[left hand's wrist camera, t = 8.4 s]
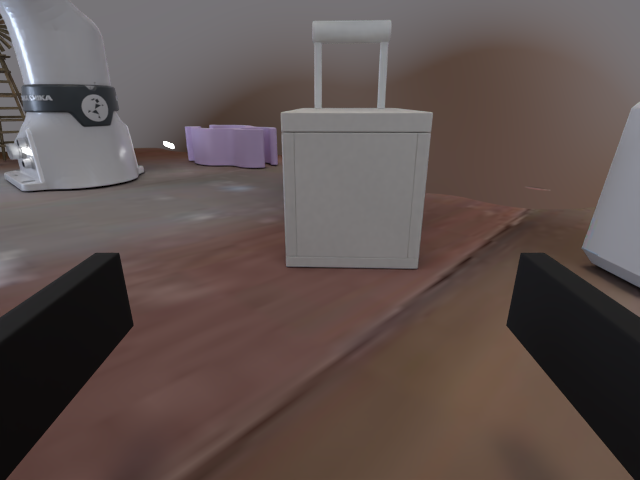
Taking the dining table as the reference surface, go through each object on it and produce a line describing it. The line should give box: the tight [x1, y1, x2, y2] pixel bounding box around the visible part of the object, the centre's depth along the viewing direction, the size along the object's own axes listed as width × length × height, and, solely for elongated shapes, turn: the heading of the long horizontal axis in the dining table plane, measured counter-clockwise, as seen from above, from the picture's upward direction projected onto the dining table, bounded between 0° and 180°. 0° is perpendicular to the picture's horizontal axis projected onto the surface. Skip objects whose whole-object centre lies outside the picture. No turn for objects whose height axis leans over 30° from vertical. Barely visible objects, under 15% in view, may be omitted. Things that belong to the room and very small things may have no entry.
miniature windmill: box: [0, 14, 26, 160], centre depth 74 cm, size 9×8×30 cm
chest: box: [282, 132, 431, 269], centre depth 35 cm, size 17×10×10 cm, turn 178°
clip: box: [185, 125, 278, 168], centre depth 78 cm, size 20×12×7 cm, turn 57°
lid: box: [281, 20, 433, 132], centre depth 32 cm, size 18×10×9 cm, turn 178°
